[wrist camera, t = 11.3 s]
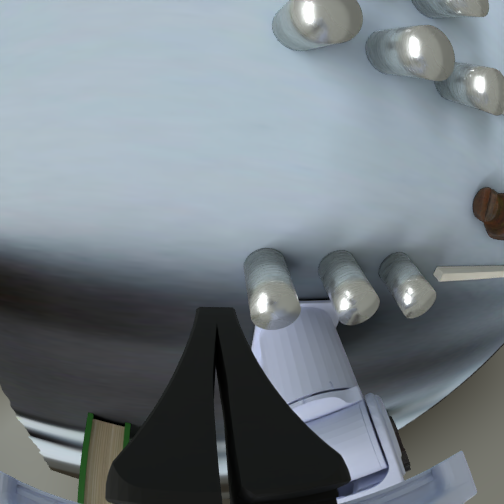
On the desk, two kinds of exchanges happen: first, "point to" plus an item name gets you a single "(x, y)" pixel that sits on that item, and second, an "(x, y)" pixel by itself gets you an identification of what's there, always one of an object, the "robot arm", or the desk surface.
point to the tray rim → (468, 272)
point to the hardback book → (99, 457)
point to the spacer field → (388, 62)
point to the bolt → (490, 211)
